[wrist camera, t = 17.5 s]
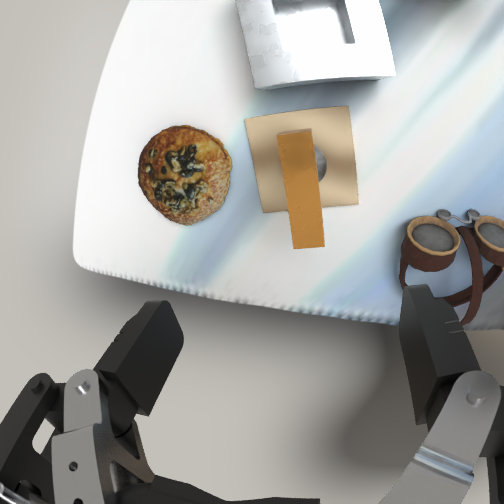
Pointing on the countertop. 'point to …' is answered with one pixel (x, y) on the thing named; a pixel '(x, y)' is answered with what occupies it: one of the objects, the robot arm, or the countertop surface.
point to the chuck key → (303, 185)
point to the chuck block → (314, 41)
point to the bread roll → (184, 173)
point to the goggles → (444, 249)
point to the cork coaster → (324, 136)
